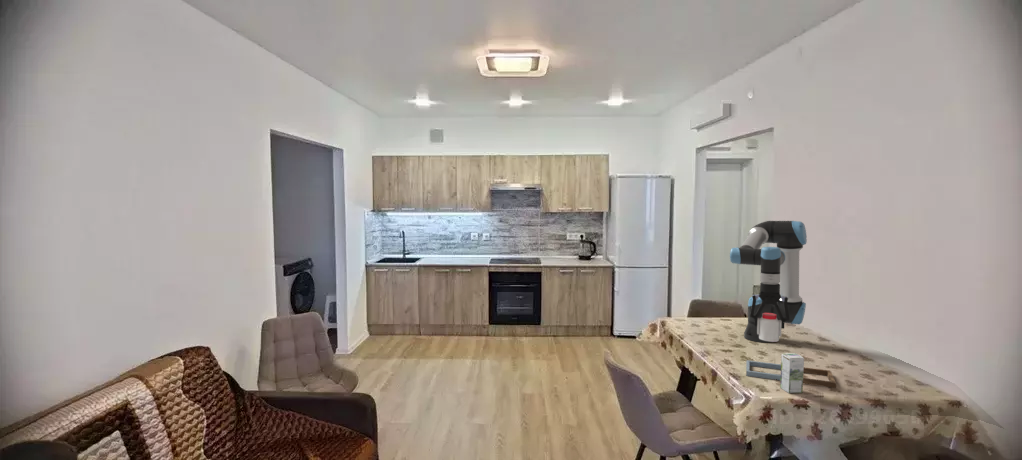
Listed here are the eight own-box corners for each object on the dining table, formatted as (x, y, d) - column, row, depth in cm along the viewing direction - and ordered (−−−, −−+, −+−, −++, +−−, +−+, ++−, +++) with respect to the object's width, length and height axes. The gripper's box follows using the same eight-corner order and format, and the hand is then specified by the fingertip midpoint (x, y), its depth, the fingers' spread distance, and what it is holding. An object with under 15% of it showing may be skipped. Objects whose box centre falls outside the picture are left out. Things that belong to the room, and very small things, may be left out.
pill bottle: (768, 342, 205) (769, 317, 204) (754, 337, 213) (755, 312, 212) (783, 340, 207) (783, 315, 207) (769, 335, 215) (769, 311, 214)
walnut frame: (788, 369, 214) (789, 365, 214) (830, 375, 207) (830, 370, 207) (791, 381, 200) (791, 377, 200) (835, 387, 193) (836, 383, 193)
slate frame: (746, 364, 222) (746, 360, 221) (784, 369, 215) (784, 364, 215) (746, 375, 208) (746, 371, 208) (787, 381, 201) (787, 376, 201)
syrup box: (793, 387, 194) (794, 352, 193) (803, 393, 189) (804, 357, 188) (780, 387, 194) (780, 352, 193) (788, 393, 188) (789, 357, 187)
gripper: (743, 282, 209) (742, 334, 211) (798, 285, 200) (797, 339, 202) (743, 279, 216) (742, 329, 218) (796, 282, 207) (795, 334, 209)
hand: (768, 334), depth 210 cm, fingers closed on pill bottle, 8 cm apart
